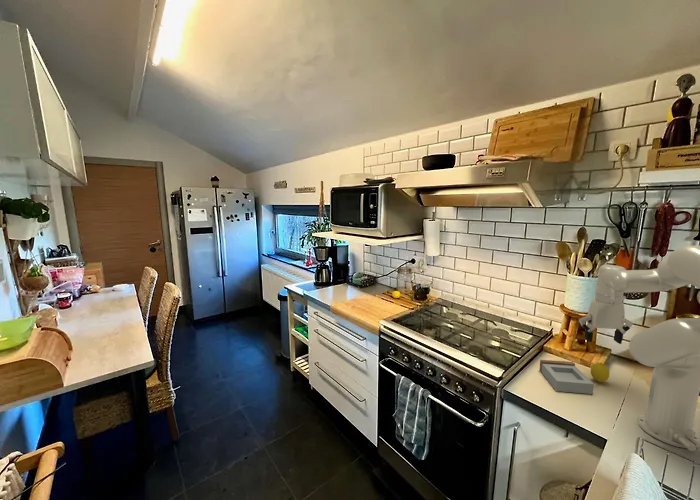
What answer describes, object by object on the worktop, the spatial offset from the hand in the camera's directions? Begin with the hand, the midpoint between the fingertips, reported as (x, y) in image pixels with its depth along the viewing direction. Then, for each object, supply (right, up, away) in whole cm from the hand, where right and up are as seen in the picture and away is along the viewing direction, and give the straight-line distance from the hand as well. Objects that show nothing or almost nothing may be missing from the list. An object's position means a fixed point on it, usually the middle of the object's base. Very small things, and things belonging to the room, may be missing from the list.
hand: (602, 341), depth 112 cm
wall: (-12, -16, +9) cm, 21 cm away
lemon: (0, -17, +2) cm, 17 cm away
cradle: (-13, -17, +2) cm, 21 cm away
